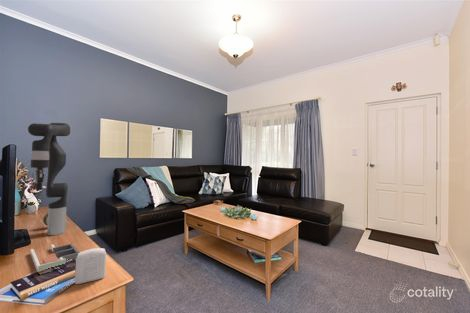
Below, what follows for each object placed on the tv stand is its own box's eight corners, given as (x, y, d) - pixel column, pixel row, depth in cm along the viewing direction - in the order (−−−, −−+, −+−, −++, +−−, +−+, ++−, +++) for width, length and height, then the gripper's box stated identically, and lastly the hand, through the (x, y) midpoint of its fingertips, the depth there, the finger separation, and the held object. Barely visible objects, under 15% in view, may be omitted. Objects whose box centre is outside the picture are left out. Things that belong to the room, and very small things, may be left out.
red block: (42, 268, 94) (42, 259, 94) (55, 264, 97) (55, 255, 98) (45, 272, 90) (45, 263, 90) (58, 268, 94) (59, 259, 94)
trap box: (30, 254, 107) (30, 246, 107) (69, 245, 119) (69, 238, 119) (38, 275, 87) (38, 266, 87) (83, 262, 99) (84, 253, 99)
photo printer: (105, 273, 90) (106, 244, 90) (105, 278, 86) (106, 248, 87) (75, 280, 84) (76, 250, 84) (74, 286, 80) (75, 254, 81)
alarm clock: (44, 230, 143) (45, 206, 144) (41, 228, 146) (43, 205, 147) (64, 226, 153) (65, 204, 153) (61, 225, 155) (62, 203, 156)
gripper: (51, 159, 114) (49, 190, 114) (47, 159, 123) (45, 188, 123) (32, 159, 109) (30, 192, 108) (29, 159, 117) (28, 189, 117)
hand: (38, 190), depth 115 cm, fingers closed
